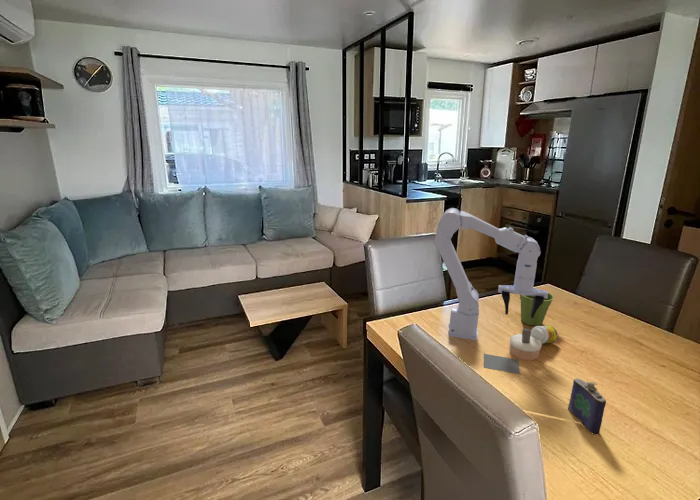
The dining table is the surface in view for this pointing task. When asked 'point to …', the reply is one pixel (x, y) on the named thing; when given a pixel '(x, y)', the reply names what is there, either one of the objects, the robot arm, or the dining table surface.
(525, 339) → the lid
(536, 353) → the bowl
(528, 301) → the plant pot
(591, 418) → the flask
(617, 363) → the dining table surface
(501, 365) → the mat
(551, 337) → the supplement bottle
